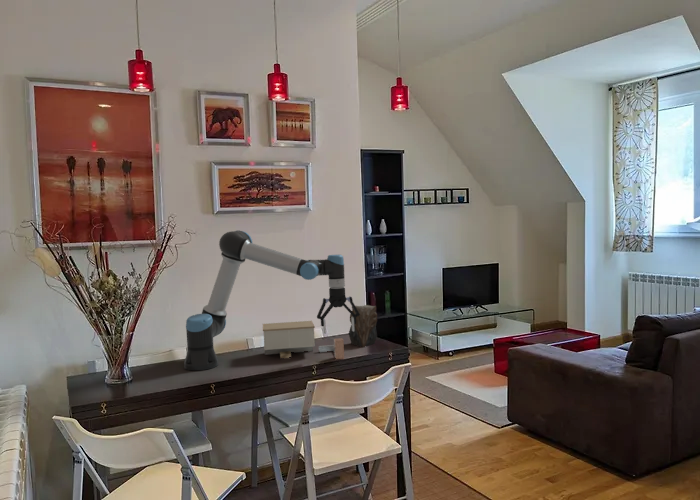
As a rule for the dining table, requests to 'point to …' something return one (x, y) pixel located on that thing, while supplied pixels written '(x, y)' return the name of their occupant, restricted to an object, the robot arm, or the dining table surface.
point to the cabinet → (288, 337)
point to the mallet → (335, 348)
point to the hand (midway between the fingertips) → (339, 332)
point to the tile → (285, 354)
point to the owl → (364, 326)
